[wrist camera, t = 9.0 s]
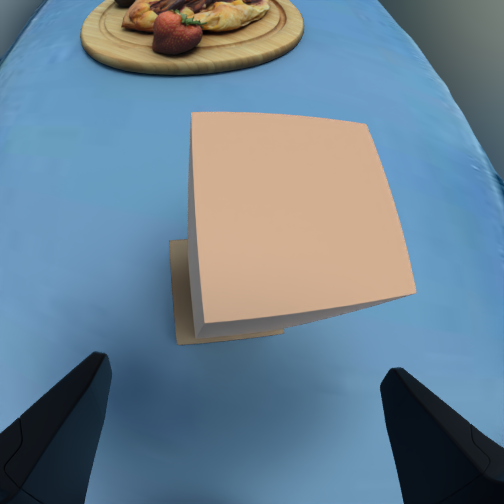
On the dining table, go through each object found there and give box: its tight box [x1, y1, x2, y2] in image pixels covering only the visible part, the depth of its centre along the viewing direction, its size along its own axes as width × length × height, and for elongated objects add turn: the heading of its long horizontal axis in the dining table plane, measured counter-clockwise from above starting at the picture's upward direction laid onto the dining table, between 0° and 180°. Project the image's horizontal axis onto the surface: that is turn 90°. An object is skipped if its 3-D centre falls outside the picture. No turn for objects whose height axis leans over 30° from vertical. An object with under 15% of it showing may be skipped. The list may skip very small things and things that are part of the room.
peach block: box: [188, 112, 416, 339], centre depth 13 cm, size 5×5×12 cm
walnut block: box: [169, 239, 284, 345], centre depth 21 cm, size 6×6×4 cm
